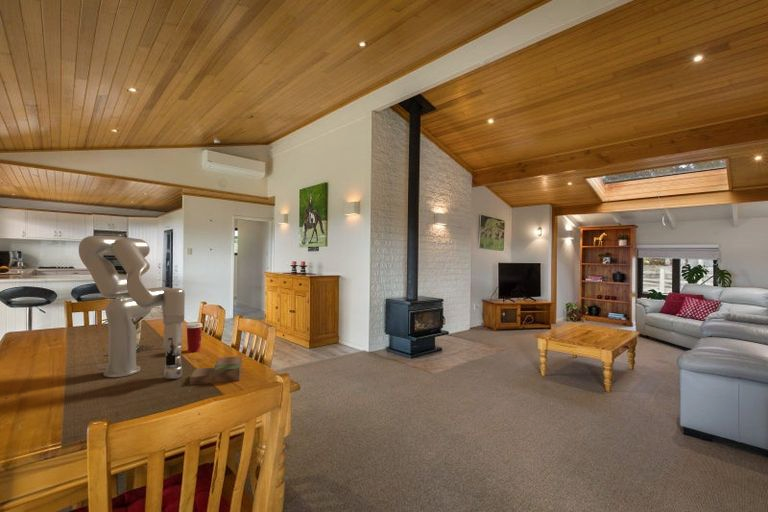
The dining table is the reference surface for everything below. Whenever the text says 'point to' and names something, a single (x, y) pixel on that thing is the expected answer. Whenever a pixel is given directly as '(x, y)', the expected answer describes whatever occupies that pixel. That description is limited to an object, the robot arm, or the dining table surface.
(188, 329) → the paper cup
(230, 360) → the step stand
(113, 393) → the dining table surface
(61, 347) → the dining table surface
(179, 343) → the plastic bottle
